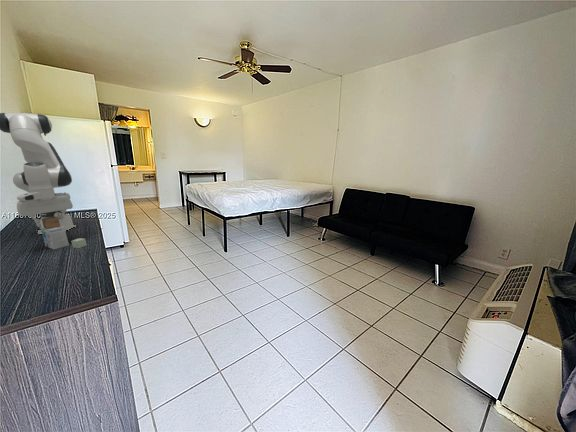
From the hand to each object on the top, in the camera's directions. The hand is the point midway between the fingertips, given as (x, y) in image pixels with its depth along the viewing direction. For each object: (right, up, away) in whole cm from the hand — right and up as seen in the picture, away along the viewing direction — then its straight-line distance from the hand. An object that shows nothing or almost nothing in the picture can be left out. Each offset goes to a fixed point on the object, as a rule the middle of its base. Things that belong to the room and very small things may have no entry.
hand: (50, 220), depth 123 cm
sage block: (+14, -14, +2) cm, 20 cm away
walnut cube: (0, -4, +1) cm, 4 cm away
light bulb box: (0, -14, +4) cm, 15 cm away
